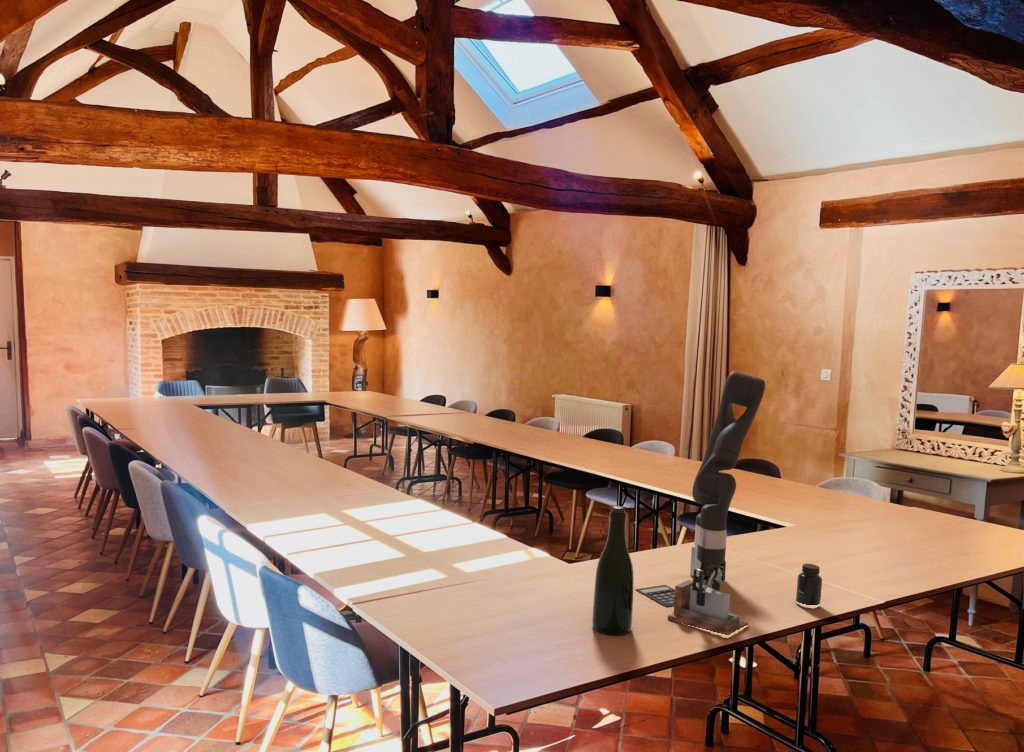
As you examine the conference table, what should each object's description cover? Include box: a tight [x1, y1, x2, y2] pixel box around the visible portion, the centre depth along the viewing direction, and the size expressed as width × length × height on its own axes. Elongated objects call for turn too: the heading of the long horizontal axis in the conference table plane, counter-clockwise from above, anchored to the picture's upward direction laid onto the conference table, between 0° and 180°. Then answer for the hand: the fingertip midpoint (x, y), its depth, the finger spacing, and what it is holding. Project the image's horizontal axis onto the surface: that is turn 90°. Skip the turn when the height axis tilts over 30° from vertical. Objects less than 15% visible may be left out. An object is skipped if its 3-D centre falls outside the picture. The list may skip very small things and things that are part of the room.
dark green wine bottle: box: [591, 505, 635, 636], centre depth 205 cm, size 10×10×33 cm
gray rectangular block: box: [689, 584, 731, 621], centre depth 213 cm, size 10×4×8 cm, turn 48°
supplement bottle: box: [795, 563, 823, 605], centre depth 230 cm, size 7×7×12 cm
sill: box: [667, 579, 749, 635], centre depth 213 cm, size 18×12×9 cm, turn 48°
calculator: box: [635, 584, 675, 608], centre depth 233 cm, size 12×1×15 cm
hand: (707, 601), depth 213 cm, fingers open, 8 cm apart
